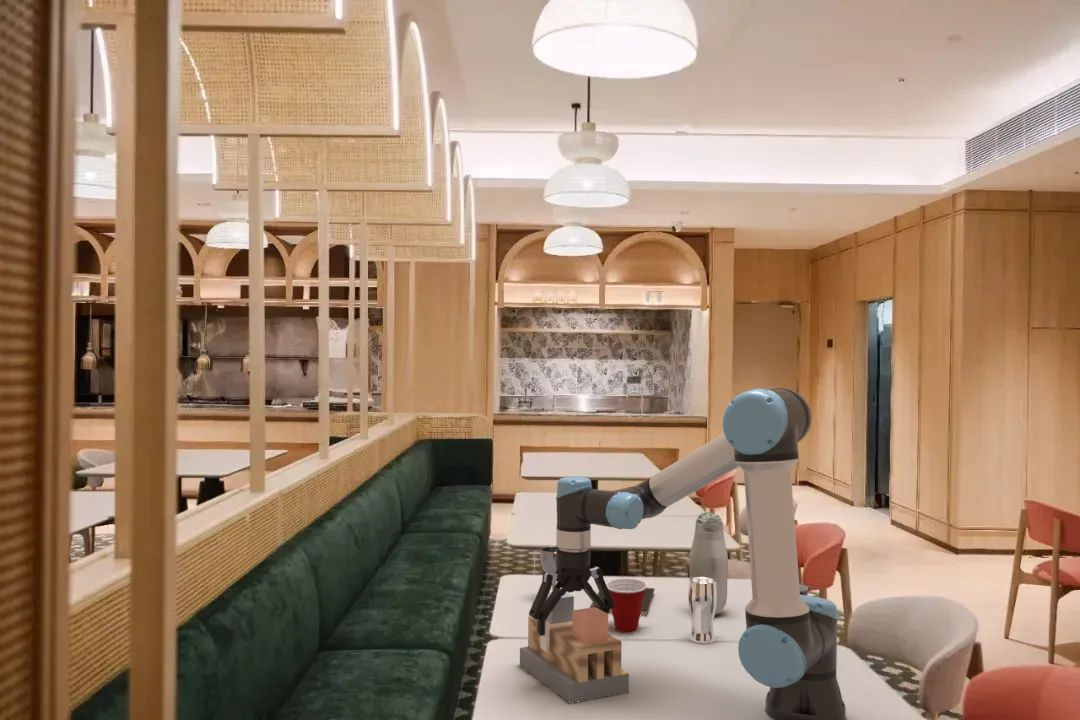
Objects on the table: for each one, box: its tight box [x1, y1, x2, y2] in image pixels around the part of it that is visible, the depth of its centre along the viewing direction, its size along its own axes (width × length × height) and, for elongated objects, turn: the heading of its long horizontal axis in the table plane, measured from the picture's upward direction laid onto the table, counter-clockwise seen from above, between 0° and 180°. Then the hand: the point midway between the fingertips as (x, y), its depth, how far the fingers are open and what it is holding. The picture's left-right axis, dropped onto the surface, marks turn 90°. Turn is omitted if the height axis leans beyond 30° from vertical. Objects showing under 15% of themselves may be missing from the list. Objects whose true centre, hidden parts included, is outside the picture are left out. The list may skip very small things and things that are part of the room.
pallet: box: [527, 615, 622, 683], centre depth 187 cm, size 24×10×7 cm, turn 27°
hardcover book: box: [589, 587, 656, 617], centre depth 246 cm, size 16×23×2 cm
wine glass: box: [539, 545, 558, 592], centre depth 247 cm, size 8×8×15 cm
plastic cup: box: [605, 577, 648, 633], centre depth 221 cm, size 11×11×12 cm
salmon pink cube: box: [572, 607, 609, 644], centre depth 180 cm, size 6×6×6 cm
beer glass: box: [687, 577, 717, 645], centre depth 214 cm, size 7×7×15 cm
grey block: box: [546, 591, 575, 624], centre depth 194 cm, size 6×6×6 cm
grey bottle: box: [689, 511, 729, 616], centre depth 236 cm, size 10×10×28 cm
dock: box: [519, 646, 630, 704], centre depth 187 cm, size 24×15×4 cm, turn 26°
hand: (572, 645), depth 187 cm, fingers open, 13 cm apart
